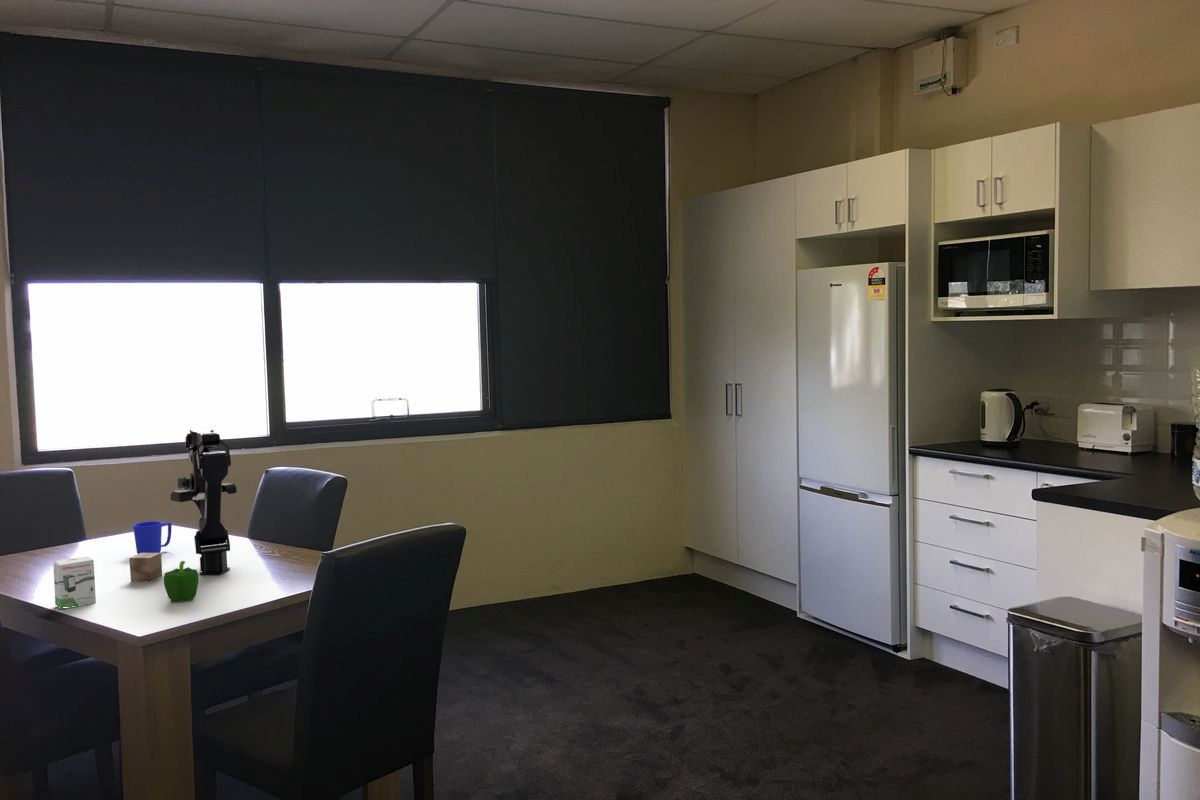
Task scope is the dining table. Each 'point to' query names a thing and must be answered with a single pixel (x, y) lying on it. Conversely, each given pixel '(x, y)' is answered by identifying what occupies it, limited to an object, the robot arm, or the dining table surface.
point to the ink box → (74, 582)
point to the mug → (150, 536)
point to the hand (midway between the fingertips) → (205, 520)
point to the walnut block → (145, 567)
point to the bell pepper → (181, 583)
